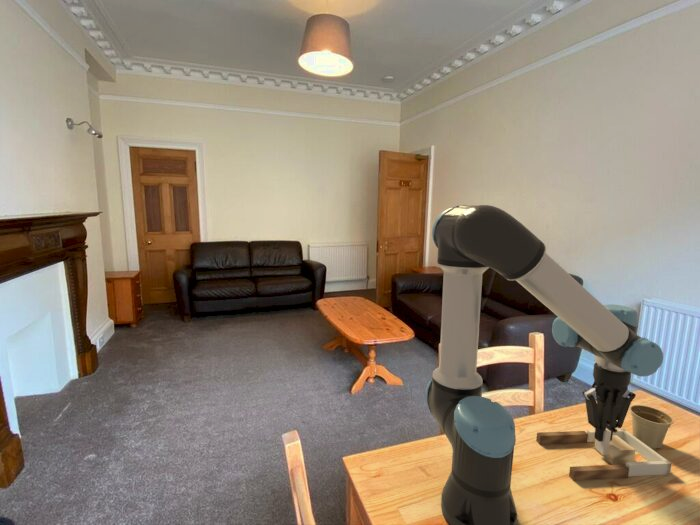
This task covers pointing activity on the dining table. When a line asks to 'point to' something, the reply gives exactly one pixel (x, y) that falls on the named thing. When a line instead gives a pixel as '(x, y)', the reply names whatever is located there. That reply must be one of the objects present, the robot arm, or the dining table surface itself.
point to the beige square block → (619, 451)
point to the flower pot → (650, 425)
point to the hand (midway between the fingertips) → (601, 451)
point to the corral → (655, 461)
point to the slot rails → (583, 471)
